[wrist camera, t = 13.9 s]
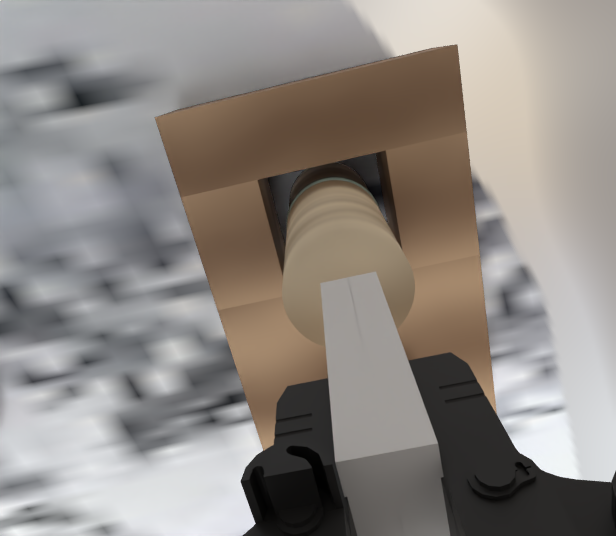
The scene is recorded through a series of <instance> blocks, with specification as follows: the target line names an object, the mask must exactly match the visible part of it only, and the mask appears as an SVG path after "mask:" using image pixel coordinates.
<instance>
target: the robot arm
mask: <svg viewBox="0 0 616 536" xmlns="http://www.w3.org/2000/svg"><path fill="white" fill-rule="evenodd" d="M320 285H321V297H322V309H323V321H324V333H325V345H326V358H327V370H328V378H326V379H321V380H316V381H310V382H305V383H300V384H295V385H290V386H287V387H286V389H285V391H284V392H283V394H282V395H281V397H280V399H279V400H278V402H277V407H276V424H275V433H274V435H275V438H274V445H272V446H270V447H269V448H267V449H266V450H264V451H262V452H261V453H259V454H258V455H256V457H255V458H254V459H253V460H252V461H251V462H250V463H249V465H248V466H247V467H246V469H245V471H244V474H243V476H242V479H241V484H242V487H243V489H244V492H245V495H246V498H247V501H248V503H249V506H250V509H251V512H252V515H253V517H254V520H255V523H256V524H255V525H254V526H253V527H252V528H251V529H250V530H249V531H248V532H246V533H245V534H244V535H243V536H616V472H615V474H614V477H613V479H612V482H599V481H587V480H575V479H569V478H563V477H559V476H556V475H553V474H550V473H547V472H544V471H542V470H540V469H539V467H538V466H537V465H536V464H535V463H534V462H533V461H532V460H531V459H529V458H527V457H526V456H524V455H522V454H520V453H519V452H518V451H517V450H516V448H515V447H514V445H513V443H512V441H511V439H510V438H509V436H508V434H507V432H506V430H505V429H504V427H503V425H502V423H501V422H500V420H499V418H498V416H497V414H496V413H495V411H494V409H493V407H492V406H491V404H490V402H489V400H488V398H487V397H486V396H485V394H484V391H483V390H482V388H481V386H480V384H479V383H478V382H477V379H476V377H475V375H474V373H473V372H472V370H471V368H470V366H469V365H468V363H466V362H465V361H463V360H462V359H460V358H459V357H457V356H456V355H454V354H453V353H451V352H448V353H443V354H438V355H433V356H428V357H423V358H418V359H413V360H408V359H407V356H406V353H405V351H404V348H403V345H402V342H401V339H400V337H399V334H398V331H397V328H396V326H395V323H394V320H393V317H392V315H391V312H390V309H389V306H388V304H387V301H386V298H385V295H384V293H383V290H382V287H381V284H380V281H379V279H378V276H377V273H376V271H375V272H371V273H366V274H361V275H356V276H352V277H347V278H342V279H337V280H333V281H328V282H323V283H320Z"/></svg>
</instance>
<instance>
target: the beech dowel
mask: <svg viewBox="0 0 616 536" xmlns="http://www.w3.org/2000/svg"><path fill="white" fill-rule="evenodd" d="M286 232H287V235H286V248H285V260H284V272H283V284H282V299H283V304H284V308H285V311H286V314H287V316H288V318H289V320H290V321H291V323H292V324H293V325H294V327H295V328H296V329H297V330H298V331H299V332H300V333H301V334H302V335H303V336H304V337H306V338H307V339H309V340H310V341H312V342H314V343H316V344H318V345H320V346H323V347H326V345H325V333H324V321H323V309H322V297H321V285H320V283H323V282H328V281H333V280H337V279H342V278H347V277H352V276H356V275H361V274H366V273H371V272H375V271H376V273H377V276H378V279H379V281H380V284H381V287H382V290H383V293H384V295H385V298H386V301H387V304H388V306H389V309H390V312H391V315H392V317H393V320H394V323H395V326H396V328H397V329H398V328H399V327H400V326H401V325H402V323H403V322H404V320H405V319H406V317H407V316H408V314H409V312H410V310H411V307H412V304H413V300H414V295H415V281H414V275H413V271H412V268H411V266H410V263H409V262H408V260H407V258H406V256H405V254H404V253H403V251H402V249H401V247H400V245H399V244H398V242H397V240H396V238H395V237H394V235H393V233H392V231H391V229H390V228H389V226H388V224H387V222H386V220H385V219H384V217H383V215H382V213H381V211H380V208H379V206H378V204H377V202H376V200H375V198H374V197H373V195H372V194H371V193H370V192H369V190H368V188H367V186H366V185H365V183H364V181H363V179H362V178H361V177H360V175H359V174H358V173H357V172H356V171H354V170H353V169H352V168H350V167H348V166H346V165H344V164H340V163H336V162H333V163H329V164H325V165H320V166H316V167H312V168H308V169H306V170H305V171H304V172H302V173H301V174H300V176H299V177H298V178H297V179H296V181H295V182H294V184H293V186H292V189H291V192H290V199H289V210H288V214H287V221H286Z"/></svg>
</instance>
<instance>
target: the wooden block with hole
mask: <svg viewBox="0 0 616 536" xmlns="http://www.w3.org/2000/svg"><path fill="white" fill-rule="evenodd" d="M155 120H156V123H157V126H158V129H159V132H160V135H161V138H162V141H163V144H164V147H165V150H166V154H167V157H168V160H169V163H170V166H171V169H172V172H173V175H174V178H175V181H176V184H177V187H178V190H179V193H180V196H181V199H182V203H183V206H184V209H185V212H186V215H187V218H188V221H189V224H190V227H191V230H192V233H193V236H194V239H195V242H196V245H197V248H198V252H199V255H200V258H201V261H202V264H203V267H204V270H205V273H206V276H207V279H208V282H209V285H210V288H211V291H212V294H213V297H214V301H215V304H216V307H217V310H218V313H219V316H220V319H221V322H222V325H223V328H224V331H225V334H226V337H227V340H228V343H229V346H230V350H231V353H232V356H233V359H234V362H235V365H236V368H237V371H238V374H239V377H240V380H241V383H242V386H243V389H244V392H245V395H246V398H247V402H248V405H249V408H250V411H251V414H252V417H253V420H254V423H255V426H256V429H257V432H258V435H259V438H260V441H261V444H262V447H263V451H264V450H266V449H267V448H269V447H270V446H272V445H274V438H275V435H274V433H275V424H276V407H277V402H278V400H279V399H280V397H281V395H282V394H283V392H284V391H285V389H286V387H287V386H290V385H295V384H300V383H305V382H310V381H316V380H321V379H326V378H328V370H327V358H326V347H323V346H320V345H318V344H316V343H314V342H312V341H310V340H309V339H307V338H306V337H304V336H303V335H302V334H301V333H300V332H299V331H298V330H297V329H296V328H295V327H294V325H293V324H292V323H291V321H290V320H289V318H288V316H287V314H286V311H285V308H284V304H283V299H282V284H283V272H284V260H285V244H284V240H283V236H282V232H281V228H280V224H279V220H278V217H277V213H276V209H275V205H274V201H273V197H272V193H271V189H270V185H269V182H268V177H272V176H277V175H281V174H285V173H290V172H294V171H298V170H303V169H307V168H312V167H316V166H320V165H325V164H329V163H333V162H338V161H342V160H346V159H351V158H355V157H359V156H364V155H368V154H373V153H375V154H376V160H377V165H378V171H379V177H380V183H381V188H382V194H383V200H384V206H385V211H386V217H387V223H388V226H389V228H390V229H391V231H392V233H393V235H394V237H395V238H396V240H397V242H398V244H399V245H400V247H401V249H402V251H403V253H404V254H405V256H406V258H407V260H408V262H409V263H410V266H411V268H412V271H413V275H414V281H415V295H414V300H413V304H412V307H411V310H410V312H409V314H408V316H407V317H406V319H405V320H404V322H403V323H402V325H401V326H400V327H399V328H398V329H397V331H398V334H399V337H400V339H401V342H402V345H403V348H404V351H405V353H406V356H407V359H408V360H413V359H418V358H423V357H428V356H433V355H438V354H443V353H448V352H451V353H453V354H454V355H456V356H457V357H459V358H460V359H462V360H463V361H465V362H466V363H468V365H469V366H470V368H471V370H472V372H473V373H474V375H475V377H476V379H477V382H478V383H479V384H480V386H481V388H482V390H483V391H484V394H485V396H486V397H487V398H488V400H489V402H490V404H491V406H492V407H493V409H494V411H495V413H496V403H495V394H494V384H493V375H492V366H491V356H490V347H489V337H488V328H487V319H486V309H485V300H484V290H483V281H482V272H481V262H480V253H479V243H478V234H477V225H476V215H475V206H474V196H473V187H472V178H471V168H470V159H469V149H468V140H467V131H466V121H465V112H464V103H463V93H462V84H461V74H460V65H459V55H458V46H457V45H450V46H443V47H437V48H431V49H426V50H422V51H418V52H414V53H410V54H406V55H402V56H398V57H393V58H389V59H385V60H381V61H377V62H373V63H369V64H364V65H360V66H356V67H352V68H348V69H344V70H340V71H335V72H331V73H327V74H323V75H319V76H315V77H311V78H307V79H302V80H298V81H294V82H290V83H286V84H282V85H278V86H274V87H269V88H265V89H261V90H257V91H253V92H249V93H245V94H240V95H236V96H232V97H228V98H224V99H220V100H216V101H212V102H207V103H203V104H199V105H195V106H191V107H187V108H183V109H179V110H175V111H172V112H170V113H167V114H164V115H161V116H158V117H155ZM496 414H497V413H496Z"/></svg>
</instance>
